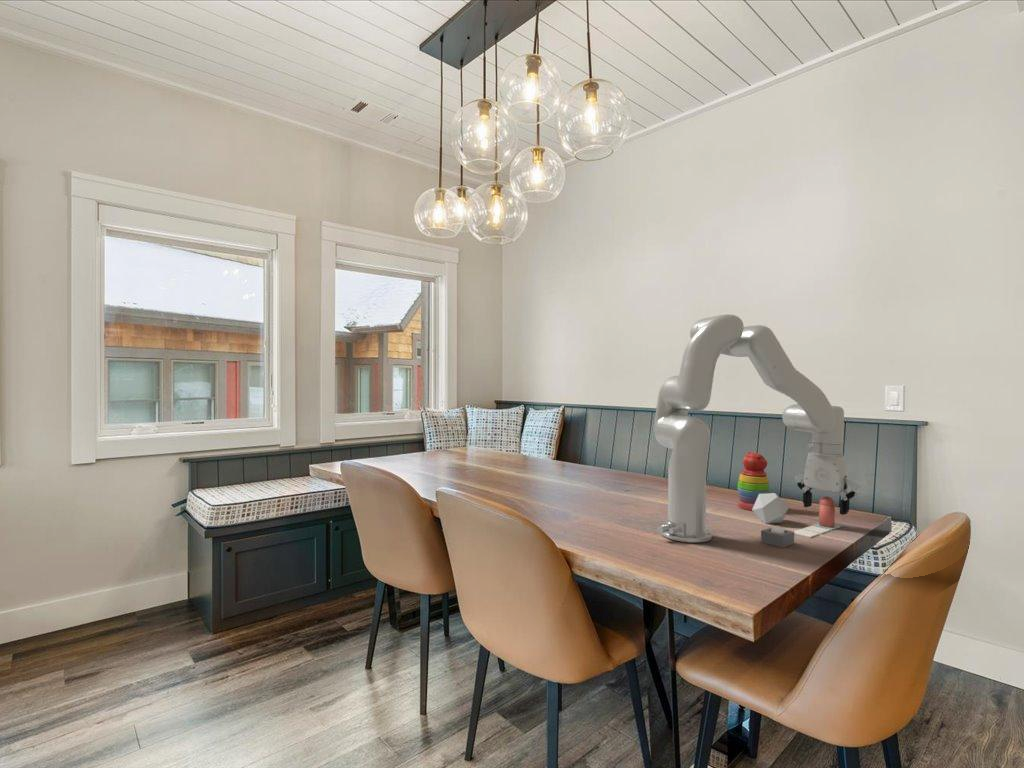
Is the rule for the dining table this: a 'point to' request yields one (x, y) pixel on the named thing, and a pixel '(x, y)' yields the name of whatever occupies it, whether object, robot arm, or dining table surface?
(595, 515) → the dining table surface
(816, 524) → the tile
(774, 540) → the grey square tray
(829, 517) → the pawn
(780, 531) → the dome
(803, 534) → the track
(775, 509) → the die
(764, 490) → the stacking bear
